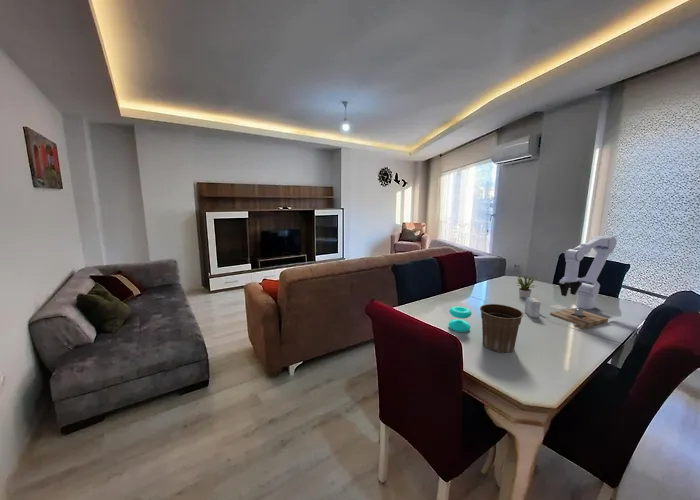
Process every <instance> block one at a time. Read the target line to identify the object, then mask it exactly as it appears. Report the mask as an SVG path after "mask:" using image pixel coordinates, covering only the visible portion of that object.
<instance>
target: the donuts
mask: <svg viewBox="0 0 700 500" xmlns="http://www.w3.org/2000/svg"><path fill="white" fill-rule="evenodd" d="M449 314H450V315H451V316H452V317H454V318H455V319H452V320H450V321H449V322H448V327H449V328H450V329H451V330H452V329H453V330H452V331H454V330H455V332H459V333H467V332H469V331H470V330H471V325H470V323H469V322H467V321H466V320H464V319H468V318H470V317H471V316H472V311H471V310H470V308H468V307H465V306H459V305H456V306H452V307H451V308H449Z"/></svg>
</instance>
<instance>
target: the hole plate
mask: <svg viewBox="0 0 700 500" xmlns="http://www.w3.org/2000/svg"><path fill="white" fill-rule="evenodd" d="M575 308H576V307H574V308H566V309H561V310H557V311H551V312H550V313H549V315H551V316H553V317H556V318H559V319H562V320H564V321H568V322H570V323H573V324H575V325H574V327H575V328H578V329H582V330H585V329H588V328H593V327H597V325H598V326H601V324H602V325H605V324H608V322H609V317H605V316H601V315H599V314H595V313H593V312H589V311H585V310H583V317H582V318H579V317H576V316H574V312H575Z"/></svg>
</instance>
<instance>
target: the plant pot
mask: <svg viewBox="0 0 700 500" xmlns="http://www.w3.org/2000/svg"><path fill="white" fill-rule="evenodd" d="M479 311H480V315H481V316H480V317H481V323H482V324H481V325H482V326H481V329H482V331H481V332H482V334H481V335H482V345H483V346H484V347H485V348H486V349H488V350H490V351H493V352H496V351H497V352H499V353H501V354H503V353H504V354H505V353H506V354H507V353H512V352H513V351H515V347H516V341H517V337H518V332H519V328H520V327H519V326H520V325H521V322H522V318H523V317H524V313H523V311H521V310H520V309H518V308H515V307H513V306H509V305H505V304H497V303H489V304H483V305H481V306H480V307H479Z"/></svg>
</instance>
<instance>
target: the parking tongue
mask: <svg viewBox="0 0 700 500" xmlns="http://www.w3.org/2000/svg"><path fill="white" fill-rule="evenodd" d="M549 308H553V309H556V310H558V311H562V310H567V309H569V306H568V307H567V306H565V305H562V304H561V305H560V304H553V305H549Z"/></svg>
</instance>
